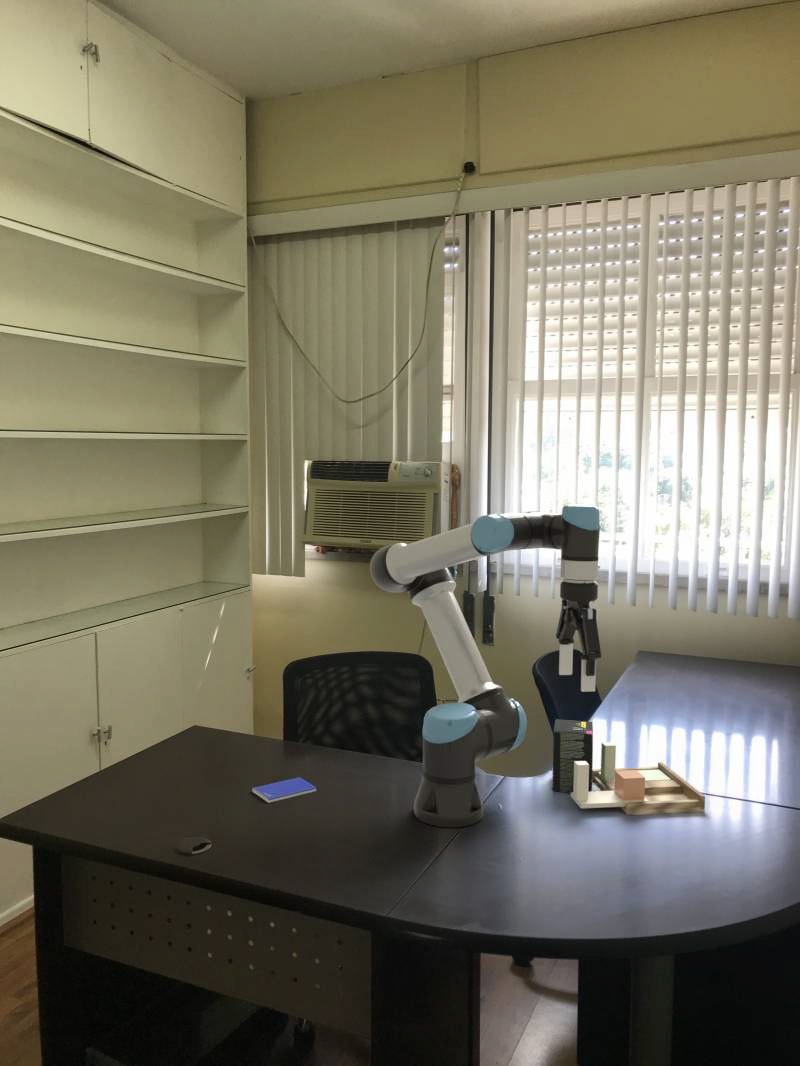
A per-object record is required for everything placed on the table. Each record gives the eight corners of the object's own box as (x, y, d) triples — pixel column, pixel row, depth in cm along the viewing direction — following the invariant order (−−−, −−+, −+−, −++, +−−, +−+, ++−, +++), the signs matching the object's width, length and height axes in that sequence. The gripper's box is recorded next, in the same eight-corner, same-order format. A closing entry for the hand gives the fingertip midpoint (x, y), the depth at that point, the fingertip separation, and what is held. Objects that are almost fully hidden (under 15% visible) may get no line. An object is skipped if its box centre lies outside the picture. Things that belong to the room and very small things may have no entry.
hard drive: (268, 798, 193) (316, 786, 200) (252, 787, 199) (298, 776, 206) (268, 805, 193) (316, 793, 200) (252, 793, 199) (298, 782, 207)
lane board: (627, 815, 188) (627, 799, 188) (591, 778, 210) (591, 764, 209) (704, 811, 190) (705, 796, 190) (661, 776, 212) (661, 762, 212)
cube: (623, 800, 190) (623, 778, 190) (614, 792, 195) (615, 770, 195) (644, 799, 191) (645, 777, 191) (635, 791, 196) (636, 769, 195)
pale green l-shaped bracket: (607, 786, 201) (608, 748, 201) (597, 775, 208) (598, 739, 207) (671, 783, 204) (672, 746, 203) (658, 773, 210) (660, 737, 210)
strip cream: (580, 808, 188) (581, 768, 187) (569, 796, 195) (570, 758, 194) (648, 805, 190) (649, 765, 190) (636, 793, 197) (637, 755, 196)
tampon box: (592, 795, 199) (593, 734, 198) (551, 792, 201) (553, 731, 200) (591, 779, 210) (593, 720, 209) (553, 775, 212) (554, 717, 210)
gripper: (620, 588, 163) (617, 698, 165) (576, 572, 188) (573, 667, 189) (582, 589, 162) (579, 699, 164) (543, 572, 187) (540, 668, 188)
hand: (576, 682), depth 177 cm, fingers open, 13 cm apart
